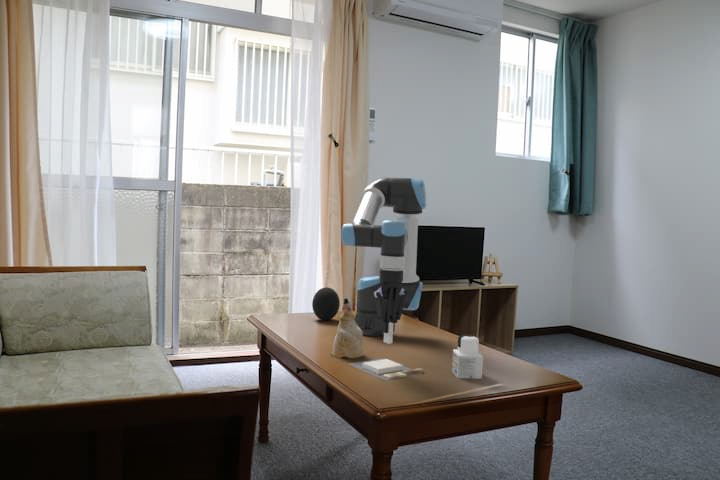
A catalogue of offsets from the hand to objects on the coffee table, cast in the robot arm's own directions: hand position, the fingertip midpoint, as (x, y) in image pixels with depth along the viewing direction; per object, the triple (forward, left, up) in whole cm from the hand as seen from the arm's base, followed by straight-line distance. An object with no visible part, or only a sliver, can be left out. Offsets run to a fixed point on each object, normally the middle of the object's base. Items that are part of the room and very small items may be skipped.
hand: (387, 342), depth 180 cm
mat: (+1, 0, -9) cm, 9 cm away
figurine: (+1, -20, -9) cm, 22 cm away
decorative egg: (-25, -75, -9) cm, 80 cm away
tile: (-3, 0, -8) cm, 8 cm away
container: (-19, +17, -9) cm, 27 cm away
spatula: (0, +8, -8) cm, 12 cm away
